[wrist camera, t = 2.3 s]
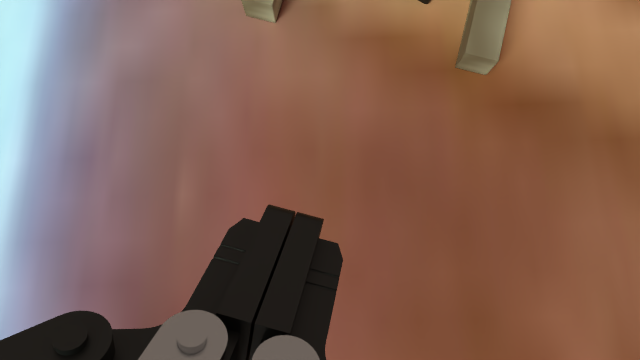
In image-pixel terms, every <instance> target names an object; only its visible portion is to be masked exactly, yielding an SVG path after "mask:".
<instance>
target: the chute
mask: <svg viewBox="0 0 640 360" xmlns="http://www.w3.org/2000/svg"><path fill="white" fill-rule="evenodd" d="M241 1H242V4H243V7H244V10H245V13H246V16H249V17H253V18H257V19H262V20H266V21H270V22H274V23H276V20H277V17H278V13H279V10H280V7H281V4H282V1H283V0H241ZM510 5H511V0H471V2H470V6H469V10H468V14H467V19H466V23H465V27H464V32H463V36H462V40H461V45H460V49H459V53H458V58H457V62H456V66H455V68H459V69H463V70H468V71H472V72H476V73H480V74H484V75H486V74H487V73H488V72H489V71H490V70H491V69H492V68H493V67H494V66H495V64H496V63H497V62H498V61H499V56H500V51H501V47H502V42H503V37H504V33H505V28H506V23H507V19H508V14H509V9H510Z"/></svg>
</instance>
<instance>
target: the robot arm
mask: <svg viewBox="0 0 640 360" xmlns="http://www.w3.org/2000/svg"><path fill="white" fill-rule="evenodd" d="M323 220H324V219H321V218H318V217H314V216H310V215H307V214H303V213H299V212H297V214H296V216H295V211H291V210H288V209H284V208H280V207H276V206H273V205H268V206H267V208H266V210H265V212H264V214H263V216H262V218H261V220H260V222H256V221H253V220H249V219H245V218H243V219H242V220H241V221H239V222H238V223H236V224H235V225H234V226H232V227H231V228H230V229H229V230H228V232H227V233H226V235H225V237H224V239H223V241H222V242H221V245H220V247H219V248H218V250H217V251H216V253H215V255H214V258H213V259H212V260H211V262H210V264H209V266H208V268H207V269H206V271H205V273H204V275H203V276H202V278H201V280H200V282H199V284H198V285H197V287H196V289H195V291H194V293H193V294H192V296H191V298H190V300H189V302H188V303H187V305H186V307H185V308H184V309H183V311H182V312H180V313H178V314H176V315H174V316H172V317H171V318H169V319H168V320H167V321H166V322H164V324H162V325H159V326H156V327H152V328H145V329H112V328H111V326H110V323H109V322H108V321H107V320H106V319H105V318H104V317H103V316H101V315H100V314H97V313H94V312H90V311H74V312H69V313H65V314H63V315H60V316H57V317H55V318H53V319H50V320H48V321H45V322H43V323H41V324H38V325H36V326H34V327H31V328H29V329H26V330H24V331H22V332H19V333H17V334H15V335H12V336H10V337H7V338H5V339H3V340H0V360H326V357H325V344H326V339H327V334H328V329H329V325H330V320H331V315H332V310H333V305H334V301H335V296H336V291H337V286H338V281H339V276H340V272H341V267H342V262H343V258H342V255H341V252H340V248H339V245H338V243H334V242H331V241H327V240H323V239H319V236H320V232H321V228H322V224H323Z"/></svg>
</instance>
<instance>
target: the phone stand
mask: <svg viewBox="0 0 640 360" xmlns="http://www.w3.org/2000/svg"><path fill="white" fill-rule="evenodd" d="M419 1H420V2H422V3H424V4H428V3H429V2H430V0H419Z"/></svg>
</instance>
